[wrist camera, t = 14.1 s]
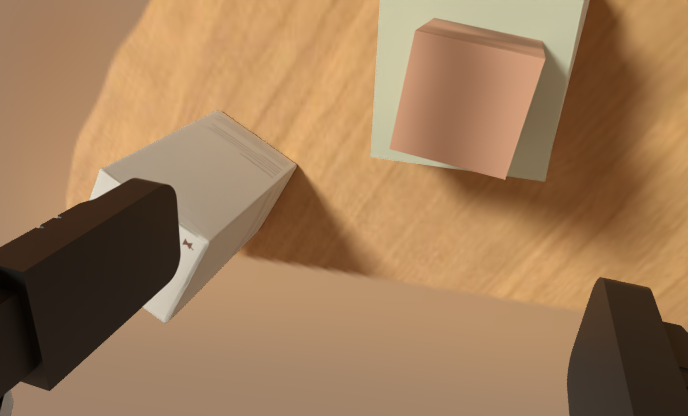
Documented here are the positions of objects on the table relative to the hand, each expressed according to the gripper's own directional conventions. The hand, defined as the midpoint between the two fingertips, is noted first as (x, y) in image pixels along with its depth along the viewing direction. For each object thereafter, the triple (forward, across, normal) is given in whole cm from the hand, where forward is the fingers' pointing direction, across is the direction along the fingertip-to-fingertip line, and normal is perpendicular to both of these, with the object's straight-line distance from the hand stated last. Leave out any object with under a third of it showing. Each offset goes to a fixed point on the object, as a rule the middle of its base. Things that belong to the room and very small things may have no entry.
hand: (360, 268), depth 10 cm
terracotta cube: (+18, 0, 0) cm, 18 cm away
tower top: (+22, 0, 0) cm, 22 cm away
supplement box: (+26, +16, +11) cm, 33 cm away
